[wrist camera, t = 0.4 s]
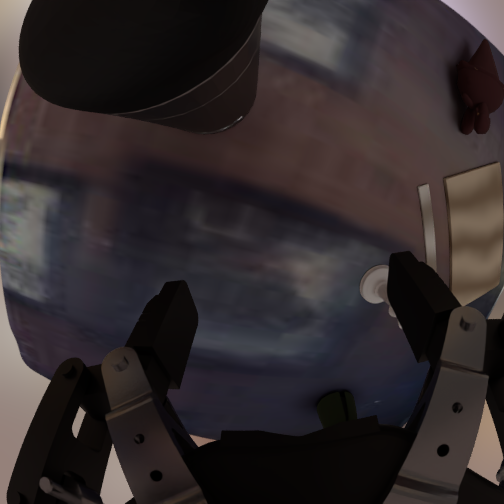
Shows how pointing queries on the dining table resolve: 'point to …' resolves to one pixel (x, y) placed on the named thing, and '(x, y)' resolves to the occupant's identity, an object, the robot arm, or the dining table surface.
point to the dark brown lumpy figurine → (479, 89)
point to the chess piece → (376, 286)
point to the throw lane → (469, 230)
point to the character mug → (336, 409)
